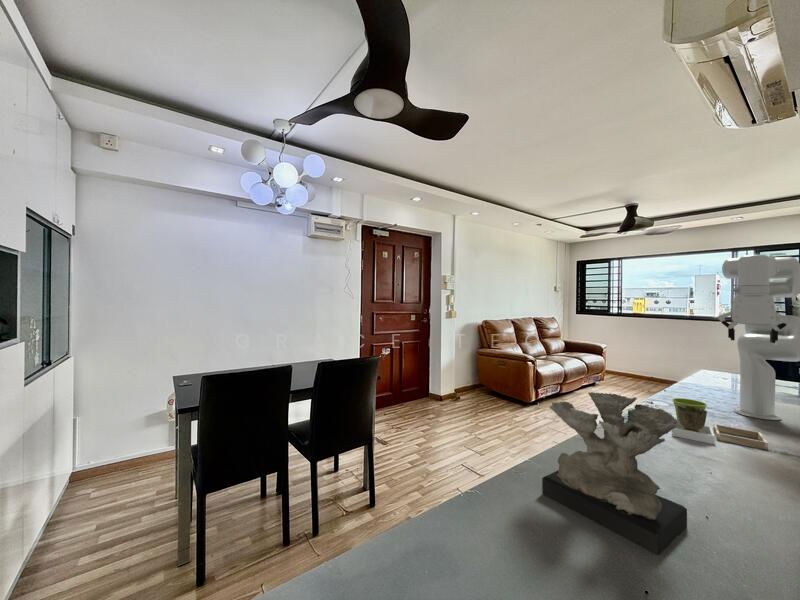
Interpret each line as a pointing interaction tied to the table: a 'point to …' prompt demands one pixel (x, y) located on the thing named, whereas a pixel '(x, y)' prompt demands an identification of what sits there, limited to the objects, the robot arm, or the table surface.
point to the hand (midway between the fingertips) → (752, 341)
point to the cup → (691, 418)
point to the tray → (695, 434)
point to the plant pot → (688, 404)
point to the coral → (617, 472)
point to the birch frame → (739, 440)
